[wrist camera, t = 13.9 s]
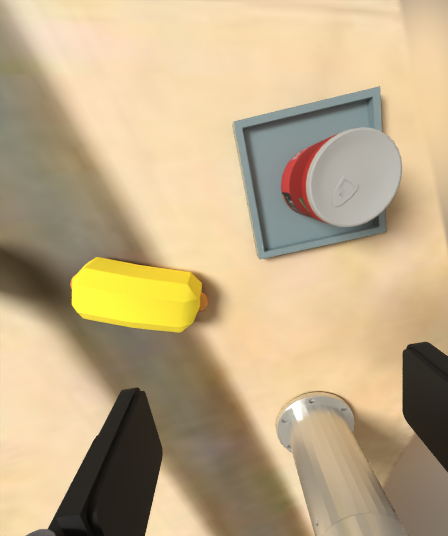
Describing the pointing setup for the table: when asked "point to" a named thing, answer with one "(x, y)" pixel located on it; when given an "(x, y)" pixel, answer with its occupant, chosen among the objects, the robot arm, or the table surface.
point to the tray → (277, 157)
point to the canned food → (344, 177)
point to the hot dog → (137, 295)
